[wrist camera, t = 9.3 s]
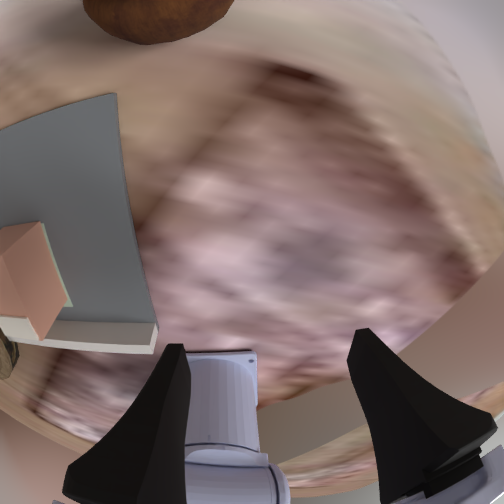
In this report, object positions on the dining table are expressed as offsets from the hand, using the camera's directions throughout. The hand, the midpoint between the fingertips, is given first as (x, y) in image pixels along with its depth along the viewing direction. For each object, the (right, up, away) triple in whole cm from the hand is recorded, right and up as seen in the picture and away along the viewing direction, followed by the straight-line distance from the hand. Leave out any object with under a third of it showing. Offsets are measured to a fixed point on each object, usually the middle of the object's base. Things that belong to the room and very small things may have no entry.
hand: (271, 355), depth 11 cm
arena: (-17, +5, +6) cm, 19 cm away
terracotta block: (-18, +3, +7) cm, 20 cm away
